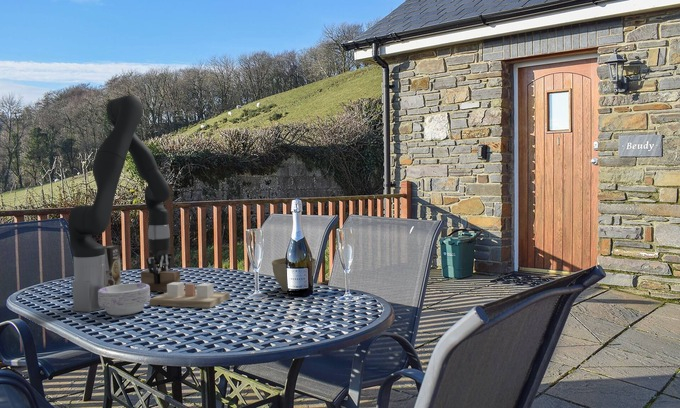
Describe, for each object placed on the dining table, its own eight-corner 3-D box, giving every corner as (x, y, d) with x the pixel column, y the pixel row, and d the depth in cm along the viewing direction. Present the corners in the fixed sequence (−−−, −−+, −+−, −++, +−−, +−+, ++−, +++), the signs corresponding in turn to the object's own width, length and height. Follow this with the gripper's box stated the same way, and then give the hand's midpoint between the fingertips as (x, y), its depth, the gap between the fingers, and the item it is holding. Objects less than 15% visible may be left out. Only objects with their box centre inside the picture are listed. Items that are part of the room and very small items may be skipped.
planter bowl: (293, 283, 215) (293, 255, 214) (325, 288, 205) (324, 259, 204) (263, 290, 202) (262, 261, 202) (295, 296, 192) (294, 265, 192)
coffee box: (111, 291, 207) (110, 248, 206) (94, 291, 207) (92, 248, 206) (121, 286, 216) (120, 244, 215) (105, 286, 216) (103, 245, 215)
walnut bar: (174, 292, 203) (174, 273, 203) (141, 290, 207) (140, 272, 206) (180, 289, 207) (180, 271, 207) (147, 288, 211) (147, 270, 210)
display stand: (210, 308, 177) (209, 289, 177) (149, 305, 183) (148, 286, 183) (229, 298, 191) (229, 281, 190) (173, 295, 196) (172, 279, 196)
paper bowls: (92, 312, 175) (91, 287, 174) (140, 304, 184) (139, 280, 184) (107, 321, 163) (106, 294, 163) (158, 312, 173) (157, 287, 172)
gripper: (161, 234, 214) (162, 279, 214) (138, 239, 200) (140, 286, 201) (178, 234, 212) (180, 279, 213) (157, 239, 198) (158, 287, 199)
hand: (160, 282), depth 207 cm, fingers closed on walnut bar, 4 cm apart
